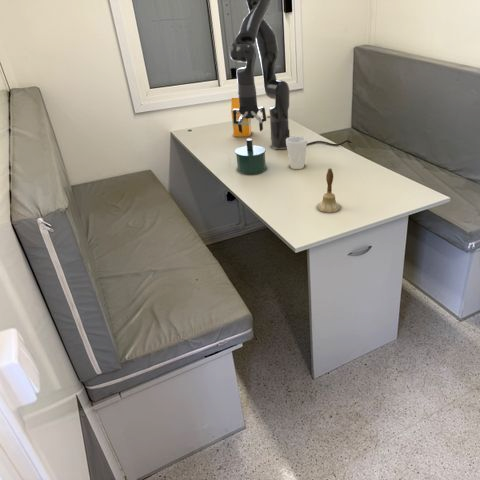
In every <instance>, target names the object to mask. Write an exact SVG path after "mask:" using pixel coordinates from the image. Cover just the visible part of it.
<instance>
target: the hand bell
mask: <svg viewBox="0 0 480 480" xmlns="http://www.w3.org/2000/svg"><path fill="white" fill-rule="evenodd" d="M325 177H326V179H325V180H326V185H327V187H326V192H325V193H323V196H322V199H321V202H320V203H319V204H318V206H317V209H318V210H319V211H321V212H322V213H328V214H329V213H336V212H338V211H339V210H340V205H339V204H338V202H337V200H336V194H335V193H333V192H332V185H333V181H334V173H333V169H332V168H328V169H327V172H326V176H325Z"/></svg>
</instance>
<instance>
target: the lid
mask: <svg viewBox="0 0 480 480" xmlns="http://www.w3.org/2000/svg"><path fill="white" fill-rule="evenodd" d="M245 142H246V145H244V146H243V145H242V146H240V147H237V148H236V149H235V150H234V153H235V155H236V156H237V155H238V156H242V157H255V156H259V155H262V154H264V153H265V154H266V148H265V147H264V146H261V145H254V144H253V139H252V138H246V140H245Z"/></svg>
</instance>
